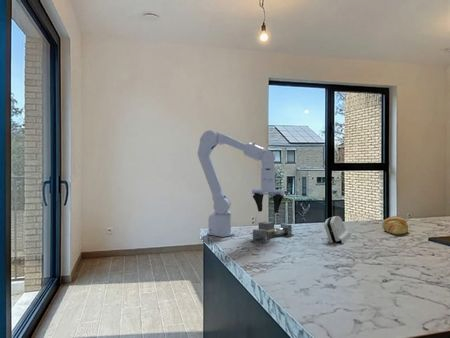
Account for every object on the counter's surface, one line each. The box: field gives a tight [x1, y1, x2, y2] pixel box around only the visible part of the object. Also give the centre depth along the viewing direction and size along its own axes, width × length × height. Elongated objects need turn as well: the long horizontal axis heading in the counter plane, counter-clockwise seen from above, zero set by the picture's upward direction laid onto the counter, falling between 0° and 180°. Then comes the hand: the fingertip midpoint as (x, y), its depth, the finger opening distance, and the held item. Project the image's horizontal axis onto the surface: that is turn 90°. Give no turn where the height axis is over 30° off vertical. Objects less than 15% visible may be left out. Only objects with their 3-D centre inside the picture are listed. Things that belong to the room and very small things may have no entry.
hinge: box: [324, 215, 352, 245], centre depth 142 cm, size 17×5×10 cm, turn 151°
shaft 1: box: [250, 228, 270, 244], centre depth 140 cm, size 8×6×4 cm
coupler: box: [257, 220, 275, 240], centre depth 147 cm, size 5×5×6 cm
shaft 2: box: [274, 222, 295, 237], centre depth 150 cm, size 8×6×4 cm
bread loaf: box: [381, 215, 409, 236], centre depth 156 cm, size 21×10×8 cm, turn 159°
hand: (268, 212), depth 150 cm, fingers open, 7 cm apart
